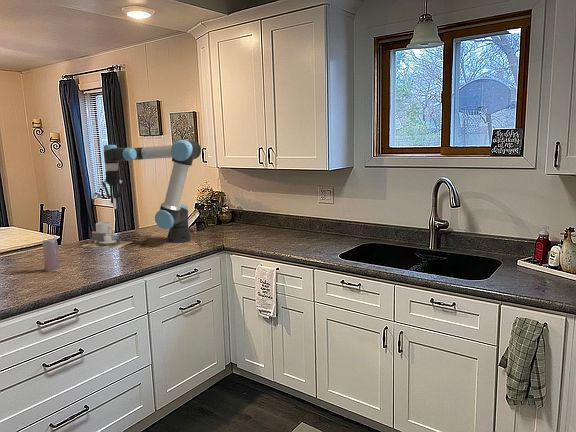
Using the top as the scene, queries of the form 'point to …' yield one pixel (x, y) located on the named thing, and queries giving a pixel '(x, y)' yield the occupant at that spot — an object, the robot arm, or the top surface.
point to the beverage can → (50, 255)
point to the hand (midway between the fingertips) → (114, 208)
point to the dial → (102, 237)
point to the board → (122, 243)
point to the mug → (104, 228)
